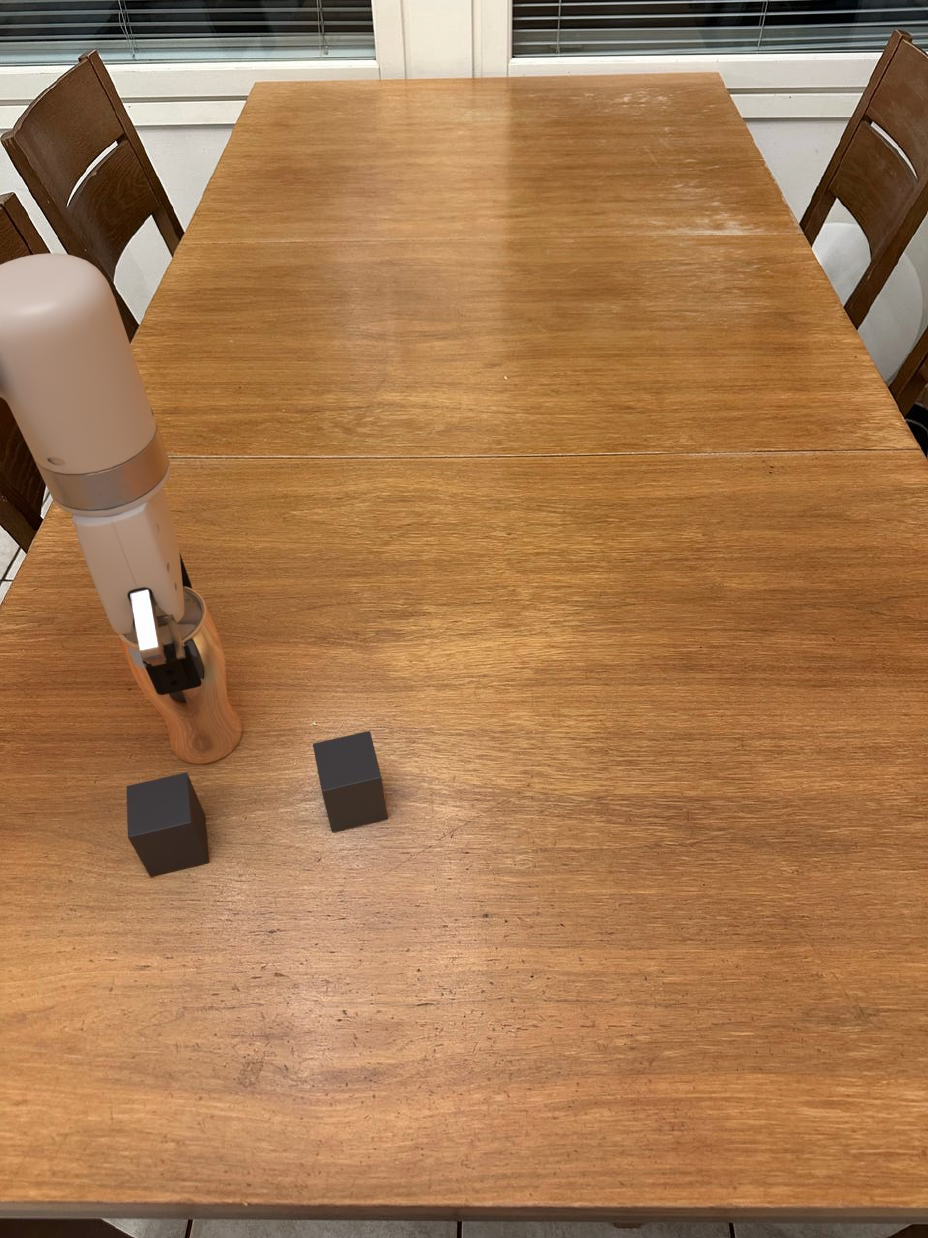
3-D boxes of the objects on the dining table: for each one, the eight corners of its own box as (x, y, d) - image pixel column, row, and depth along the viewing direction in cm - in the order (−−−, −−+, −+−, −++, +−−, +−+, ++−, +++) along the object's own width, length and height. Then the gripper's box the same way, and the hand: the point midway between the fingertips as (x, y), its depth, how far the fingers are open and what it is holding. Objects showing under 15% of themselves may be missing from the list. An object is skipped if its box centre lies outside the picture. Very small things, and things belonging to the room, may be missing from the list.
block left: (149, 877, 72) (127, 837, 67) (147, 827, 75) (126, 785, 70) (209, 863, 72) (191, 822, 68) (205, 813, 75) (187, 771, 71)
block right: (331, 833, 74) (321, 791, 70) (322, 786, 77) (312, 743, 73) (388, 819, 75) (381, 777, 70) (376, 773, 78) (370, 730, 73)
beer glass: (221, 779, 78) (175, 662, 67) (149, 755, 79) (93, 637, 68) (262, 715, 82) (226, 595, 71) (193, 693, 84) (147, 573, 73)
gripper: (47, 394, 64) (123, 573, 77) (37, 565, 53) (129, 741, 66) (158, 375, 65) (216, 554, 78) (172, 538, 54) (237, 716, 67)
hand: (176, 639), depth 72 cm, fingers open, 9 cm apart
